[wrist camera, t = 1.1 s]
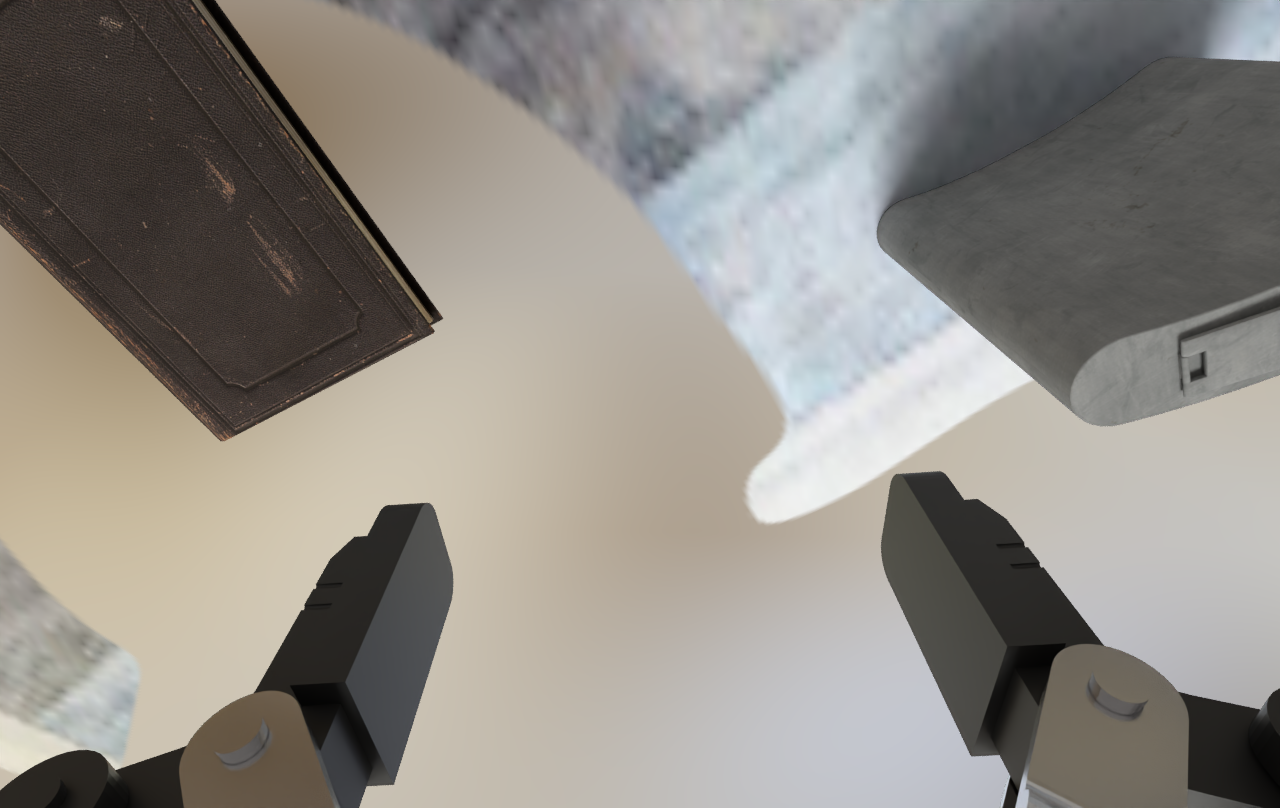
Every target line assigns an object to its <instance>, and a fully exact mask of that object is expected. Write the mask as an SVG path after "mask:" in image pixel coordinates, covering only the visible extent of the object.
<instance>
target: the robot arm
mask: <svg viewBox="0 0 1280 808" xmlns="http://www.w3.org/2000/svg"><path fill="white" fill-rule="evenodd" d="M881 553H882V561H883V566H884V570H885V573H886V576H887V578H888V581H889V583H890V585H891V587H892V589H893V591H894V593H895V596H896V597H897V600H898V602H899V604H900V606H901V608H902V610H903V613H904V615H905V617H906V619H907V621H908V623H909V625H910V627H911V629H912V632H913V634H914V636H915V638H916V640H917V642H918V644H919V647H920V649H921V651H922V653H923V655H924V657H925V659H926V661H927V664H928V666H929V668H930V670H931V672H932V674H933V676H934V678H935V680H936V682H937V684H938V687H939V689H940V691H941V693H942V695H943V698H944V700H945V702H946V704H947V706H948V708H949V710H950V712H951V714H952V717H953V719H954V721H955V723H956V725H957V727H958V729H959V731H960V734H961V736H962V738H963V740H964V742H965V744H966V746H967V749H968V751H969V753H970V755H971V756H989V755H1000V757H1001V759H1002V761H1003V762H1004V764H1005V766H1006V768H1007V770H1008V772H1009V776H1008V779H1007V781H1006V784H1005V788H1004V792H1003V796H1002V800H1001V804H1000V808H1280V689H1278V690H1276V691H1275V692H1273V693H1272V694H1271V696H1270V697H1269V698H1268V700H1267V701H1266V702H1265V704H1264V705H1263V707H1262V708H1261V710H1260V709H1255V708H1250V707H1245V706H1241V705H1235V704H1231V703H1226V702H1221V701H1216V700H1212V699H1207V698H1202V697H1197V696H1192V695H1188V694H1185V693H1181V692H1178V691H1177V690H1176V689H1175V688H1174V686H1173V685H1172V684H1171V683H1170V682H1169V681H1168V680H1167V679H1166V678H1165V677H1164V676H1163V675H1161V674H1160V673H1159V672H1158V671H1156V670H1155V669H1154V668H1152V667H1151V666H1149V665H1148V664H1146V663H1145V662H1143V661H1141V660H1140V659H1138V658H1136V657H1134V656H1132V655H1129V654H1127V653H1125V652H1123V651H1120V650H1117V649H1113V648H1111V647H1106V646H1104V645H1103V644H1102V643H1101V641H1100V640H1099V639H1098V637H1097V636H1096V635H1095V633H1094V632H1093V631H1092V630H1091V628H1090V627H1089V626H1088V624H1087V623H1086V622H1085V620H1084V619H1083V618H1082V617H1081V615H1080V614H1079V613H1078V611H1077V610H1076V609H1075V608H1074V606H1073V605H1072V604H1071V602H1070V601H1069V600H1068V599H1067V597H1066V596H1065V595H1064V593H1063V592H1062V591H1061V589H1060V588H1059V587H1058V586H1057V584H1056V583H1055V582H1054V580H1053V579H1052V578H1051V576H1050V575H1049V574H1048V573H1047V571H1046V570H1045V569H1044V568H1041V567H1040V565H1039V563H1040V562H1039V561H1038V560H1037V558H1036V557H1035V556H1034V554H1033V553H1032V552H1031V551H1030V549H1029V548H1028V547H1025V546H1024V542H1023V540H1022V539H1021V538H1020V536H1019V535H1018V534H1017V532H1016V531H1015V530H1014V529H1013V527H1012V526H1011V525H1010V523H1009V522H1008V521H1007V519H1005V518H1004V517H1003V516H1001V515H1000V514H998V513H997V512H995V511H994V510H993V509H991V508H990V507H988V506H987V505H985V504H984V503H983V502H981V501H980V500H978V499H972V500H964V499H963V498H962V496H961V495H960V493H959V492H958V491H957V489H956V488H955V486H954V485H953V484H952V482H951V481H950V480H949V478H948V477H947V476H946V474H944V473H943V472H940V471H939V472H938V471H937V472H922V473H908V474H907V473H906V474H896V475H895V476H894V477H893V478H892V481H891V485H890V490H889V497H888V503H887V509H886V515H885V522H884V528H883V534H882V542H881ZM452 594H453V572H452V566H451V563H450V559H449V556H448V552H447V549H446V546H445V542H444V539H443V536H442V532H441V529H440V526H439V522H438V519H437V516H436V512H435V510H434V508H433V506H432V505H431V504H430V503H417V504H402V505H387V506H385V507H383V509H381V511H380V513H379V515H378V517H377V518H376V520H375V522H374V525H373V526H372V528H371V530H370V532H369V534H368V536H362V537H354V538H353V539H352V540H351V541H350V542H348V543H347V544H346V545H345V546H344V547H343V548H342V549H341V550H340V551H339V552H338V553H337V554H335V555H334V556H333V557H332V558H331V559H330V561H329V562H328V564H327V566H326V568H325V569H324V571H323V573H322V575H321V577H320V578H319V580H318V582H317V584H316V589H313V591H312V592H311V594H310V596H309V598H308V599H307V601H306V603H305V609H304V610H301V612H300V614H299V615H298V617H297V619H296V621H295V622H294V624H293V626H292V627H291V629H290V631H289V633H288V635H287V636H286V638H285V640H284V642H283V643H282V645H281V647H280V649H279V650H278V652H277V654H276V656H275V657H274V659H273V661H272V663H271V665H270V666H269V668H268V670H267V672H266V673H265V675H264V677H263V679H262V680H261V682H260V684H259V686H258V687H257V689H256V691H255V692H254V693H253V694H250V695H248V696H245V697H243V698H240V699H238V700H236V701H234V702H232V703H230V704H229V705H227V706H225V707H224V708H222V709H221V710H219V711H218V712H217V713H216V714H214V715H213V716H212V717H211V718H209V719H208V720H207V721H206V722H205V723H204V724H203V725H202V726H201V727H200V728H199V730H197V732H196V733H195V734H194V736H193V737H192V738H191V740H190V741H189V743H188V745H187V746H185V747H182V748H180V749H177V750H174V751H171V752H168V753H165V754H162V755H159V756H156V757H153V758H150V759H147V760H144V761H141V762H138V763H136V764H132V765H130V766H127V767H124V768H121V769H118V770H115V769H114V768H113V767H112V766H111V765H110V763H109V762H108V761H107V760H106V759H105V758H104V757H103V756H102V755H101V754H100V753H97V752H95V751H90V750H77V751H71V752H67V753H63V754H60V755H57V756H55V757H52V758H50V759H47V760H45V761H43V762H41V763H39V764H37V765H35V766H34V767H32V768H30V769H29V770H27V771H25V772H24V773H22V774H21V775H19V776H18V777H16V778H15V779H14V780H12V781H11V782H10V783H9V784H7V785H6V786H5V787H4V788H2V789H1V790H0V808H359V806H360V803H361V800H362V797H363V795H364V792H365V789H366V786H377V785H394V782H395V779H396V776H397V772H398V769H399V766H400V763H401V760H402V757H403V753H404V750H405V747H406V744H407V741H408V737H409V734H410V731H411V728H412V725H413V721H414V718H415V715H416V712H417V709H418V706H419V702H420V699H421V696H422V693H423V689H424V687H425V683H426V680H427V677H428V674H429V671H430V667H431V664H432V661H433V658H434V655H435V651H436V648H437V645H438V642H439V639H440V635H441V632H442V629H443V626H444V623H445V620H446V617H447V613H448V610H449V607H450V603H451V600H452Z"/></svg>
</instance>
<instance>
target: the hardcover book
mask: <svg viewBox="0 0 1280 808" xmlns="http://www.w3.org/2000/svg"><path fill="white" fill-rule="evenodd" d="M0 225H1V226H2V227H3V228H4V229H6V230H7V231H8V232H9V233H10V234H11V235H12V236H13V237H14V238H15V239H16V240H17V241H18V242H19V243H20V244H21V245H22V246H23V247H24V248H25V249H26V250H27V251H28V252H29V253H30V254H31V255H32V256H33V257H34V258H35V259H36V260H37V261H38V262H39V263H40V264H41V265H42V266H43V267H44V268H45V269H46V270H47V271H48V272H49V273H50V274H51V275H52V276H53V277H54V278H55V279H56V280H57V281H58V282H59V283H61V285H62V286H63V287H65V289H66V290H67V291H69V292H70V293H71V294H72V295H73V296H74V297H75V298H76V299H77V300H78V301H79V302H80V303H81V304H82V305H83V306H84V307H85V308H86V309H87V310H88V311H89V312H90V313H91V314H92V315H93V316H94V317H95V318H96V319H97V320H98V321H99V322H100V323H101V324H102V325H103V326H104V327H105V328H106V329H107V330H108V331H109V332H110V333H111V334H112V335H113V336H114V337H115V338H116V339H117V340H118V341H119V342H120V343H121V344H122V345H123V346H124V347H126V349H127V350H128V351H129V352H130V353H132V354H133V355H134V356H135V357H136V358H137V359H138V360H139V361H140V362H141V363H142V364H143V365H144V366H145V367H146V368H147V369H148V370H149V371H150V372H151V373H152V374H153V375H154V376H155V377H156V378H157V379H158V380H159V381H160V382H161V383H162V384H163V385H164V386H165V387H166V388H167V389H168V390H169V391H170V392H171V393H172V394H173V395H174V396H175V397H176V398H177V399H178V400H179V401H180V402H181V403H182V404H184V406H185V407H187V409H188V410H189V411H191V413H192V414H193V415H195V417H196V418H198V419H199V420H200V421H201V422H202V423H203V424H204V425H205V426H206V427H207V428H208V429H209V430H210V431H211V432H212V433H213V434H214V435H215V436H216V437H217V438H218V439H219V440H220V441H226V440H227V439H230V438H232V437H233V436H235V435H237V434H239V433H241V432H243V431H245V430H247V429H249V428H251V427H253V426H255V425H257V424H259V423H261V422H263V421H264V420H266V419H268V418H270V417H272V416H274V415H276V414H278V413H280V412H282V411H284V410H286V409H288V408H290V407H292V406H293V405H295V404H297V403H299V402H301V401H303V400H305V399H307V398H309V397H311V396H313V395H315V394H317V393H319V392H321V391H322V390H324V389H326V388H328V387H330V386H332V385H334V384H336V383H338V382H340V381H342V380H344V379H346V378H348V377H349V376H351V375H353V374H355V373H357V372H359V371H361V370H363V369H365V368H367V367H369V366H371V365H373V364H375V363H377V362H378V361H380V360H382V359H384V358H386V357H388V356H390V355H392V354H394V353H396V352H398V351H400V350H402V349H404V348H406V347H407V346H409V345H411V344H413V343H415V342H417V341H419V340H421V339H423V338H425V337H427V336H429V335H431V334H433V333H434V329H433V328H432V327H431V325H433V324H435V323H437V322H439V321H440V320H442V319H443V317H442V316H441V314H440V313H439V311H438V310H437V309H436V307H435V306H434V304H433V303H432V301H431V300H430V299H429V297H428V296H427V295H426V293H425V292H424V290H423V289H422V288H421V286H420V285H419V283H418V282H417V281H416V279H415V278H414V276H413V275H412V274H411V273H410V271H409V269H408V268H407V267H406V265H405V264H404V263H403V261H402V260H401V258H400V257H399V256H398V254H397V253H396V251H395V250H394V249H393V248H392V246H391V245H390V243H389V242H388V241H387V239H386V238H385V236H384V235H383V233H382V232H381V230H380V229H379V228H378V227H377V225H376V224H375V222H374V221H373V219H372V218H371V217H370V215H369V214H368V212H367V211H366V210H365V208H364V207H363V205H362V204H361V203H360V202H359V200H358V199H357V197H356V196H355V194H354V193H353V191H352V190H351V189H350V187H349V186H348V184H347V183H346V182H345V180H344V179H343V178H342V176H341V175H340V174H339V172H338V171H337V169H336V168H335V166H334V165H333V164H332V162H331V161H330V159H329V158H328V157H327V155H326V154H325V152H324V151H323V150H322V149H321V147H320V146H319V144H318V143H317V141H316V140H315V139H314V137H313V136H312V134H311V133H310V132H309V130H308V129H307V127H306V126H305V125H304V123H303V122H302V120H301V119H300V118H299V116H298V115H297V114H296V112H295V111H294V109H293V108H292V106H291V105H290V104H289V102H288V101H287V100H286V98H285V97H284V95H283V94H282V93H281V91H280V90H279V88H278V87H277V86H276V84H275V83H274V81H273V80H272V79H271V77H270V76H269V74H268V73H267V72H266V70H265V69H264V68H263V66H262V65H261V63H260V62H259V61H258V59H257V58H256V56H255V55H254V54H253V52H252V51H251V49H250V48H249V47H248V45H247V44H246V42H245V41H244V40H243V38H242V37H241V35H240V34H239V33H238V31H237V30H236V29H235V27H234V26H233V24H232V23H231V22H230V20H229V19H228V17H227V16H226V15H225V13H224V12H223V10H222V9H221V8H220V6H219V5H218V3H217V2H216V1H215V0H0Z"/></svg>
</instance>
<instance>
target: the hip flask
mask: <svg viewBox="0 0 1280 808" xmlns="http://www.w3.org/2000/svg"><path fill="white" fill-rule="evenodd" d="M877 239H878V243H879V245H880V247H881V248H882V250H883V251H884V252H885V253H887V254H888V255H889V256H890V257H891V258H892V259H894V260H895V261H896V262H897V263H898V264H899V265H901V266H902V267H903V268H904V269H905V270H907V271H908V272H909V273H910V274H911V275H912V276H914V277H915V278H916V279H917V280H918V281H919V282H921V283H922V284H923V285H924V286H925V287H926V288H928V289H929V290H930V291H931V292H932V293H933V294H935V295H936V296H937V297H938V298H939V299H941V300H942V301H943V302H944V303H945V304H946V305H948V306H949V307H950V308H951V309H952V310H953V311H955V312H956V313H957V314H958V315H959V316H960V317H962V318H963V319H964V320H965V321H966V322H967V323H969V324H970V325H971V326H972V327H973V328H974V329H976V330H977V331H978V332H979V333H980V334H982V335H983V336H984V337H985V338H986V339H987V340H989V341H990V342H991V343H992V344H993V345H994V346H996V347H997V348H998V349H999V350H1000V351H1001V352H1003V353H1004V354H1005V355H1006V356H1007V357H1008V358H1010V359H1011V360H1012V361H1013V362H1014V363H1016V364H1017V365H1018V366H1019V367H1020V368H1021V369H1023V370H1024V371H1025V372H1026V373H1027V374H1028V375H1030V376H1031V377H1032V378H1033V379H1034V380H1035V381H1037V382H1038V383H1039V384H1040V385H1041V386H1042V387H1044V388H1045V389H1046V390H1047V391H1048V392H1050V393H1051V394H1052V395H1053V396H1054V397H1055V398H1057V399H1058V400H1059V401H1060V402H1061V403H1062V404H1064V405H1065V406H1066V407H1067V408H1068V409H1070V410H1071V411H1072V412H1073V413H1074V414H1075V415H1076V416H1078V417H1079V418H1081V419H1082V420H1083V421H1085V422H1087V423H1089V424H1092V425H1097V426H1115V425H1120V424H1124V423H1128V422H1132V421H1135V420H1140V419H1143V418H1147V417H1151V416H1154V415H1158V414H1162V413H1165V412H1168V411H1172V410H1175V409H1179V408H1182V407H1185V406H1189V405H1192V404H1196V403H1199V402H1202V401H1205V400H1208V399H1211V398H1214V397H1217V396H1220V395H1223V394H1226V393H1229V392H1232V391H1236V390H1239V389H1241V388H1244V387H1247V386H1250V385H1253V384H1256V383H1258V382H1261V381H1264V380H1267V379H1270V378H1273V377H1275V376H1278V375H1280V62H1275V61H1252V60H1229V59H1206V58H1183V57H1167V58H1163V59H1159V60H1157V61H1155V62H1153V63H1151V64H1149V65H1148V66H1147V67H1145V68H1144V69H1142V70H1141V71H1140V72H1139V73H1137V74H1136V75H1135V76H1133V77H1132V78H1131V79H1130V80H1128V81H1127V82H1126V83H1124V84H1123V85H1121V86H1120V87H1119V88H1117V89H1116V90H1115V91H1113V92H1112V93H1110V94H1109V95H1108V96H1106V97H1105V98H1103V99H1102V100H1100V101H1099V102H1097V103H1096V104H1094V105H1093V106H1091V107H1090V108H1088V109H1087V110H1085V111H1084V112H1082V113H1081V114H1079V115H1078V116H1076V117H1075V118H1073V119H1071V120H1070V121H1068V122H1067V123H1065V124H1063V125H1062V126H1060V127H1058V128H1057V129H1055V130H1053V131H1052V132H1050V133H1048V134H1046V135H1045V136H1043V137H1041V138H1039V139H1038V140H1036V141H1034V142H1032V143H1030V144H1028V145H1027V146H1025V147H1023V148H1021V149H1019V150H1017V151H1016V152H1014V153H1012V154H1010V155H1008V156H1006V157H1004V158H1003V159H1001V160H999V161H997V162H995V163H993V164H991V165H989V166H987V167H985V168H983V169H980V170H978V171H976V172H974V173H972V174H969V175H967V176H965V177H963V178H960V179H958V180H956V181H953V182H951V183H948V184H946V185H944V186H941V187H939V188H936V189H933V190H930V191H928V192H925V193H922V194H919V195H916V196H913V197H910V198H907V199H904V200H902V201H899V202H897V203H895V204H894V205H892V206H891V207H890V208H889V209H888V210H887V211H886V212H885V213H884V215H883V216H882V218H881V220H880V222H879V225H878V229H877Z"/></svg>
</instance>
